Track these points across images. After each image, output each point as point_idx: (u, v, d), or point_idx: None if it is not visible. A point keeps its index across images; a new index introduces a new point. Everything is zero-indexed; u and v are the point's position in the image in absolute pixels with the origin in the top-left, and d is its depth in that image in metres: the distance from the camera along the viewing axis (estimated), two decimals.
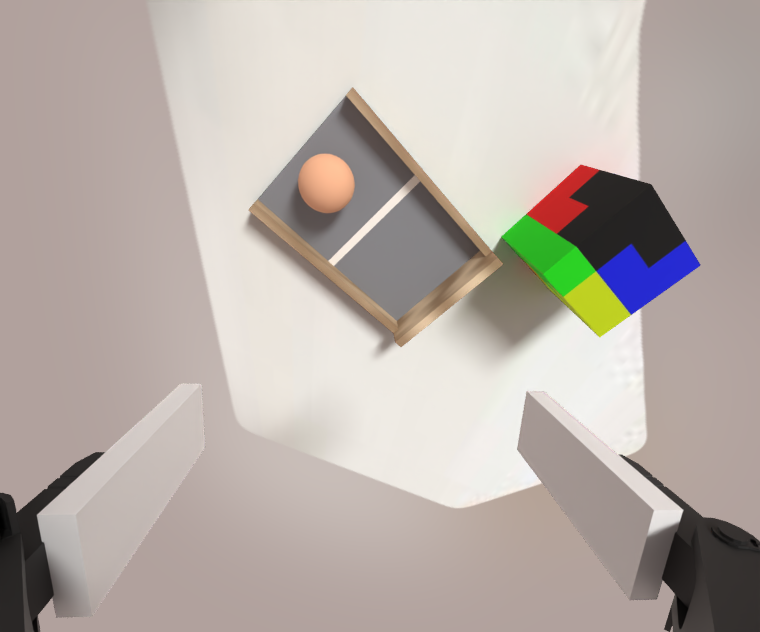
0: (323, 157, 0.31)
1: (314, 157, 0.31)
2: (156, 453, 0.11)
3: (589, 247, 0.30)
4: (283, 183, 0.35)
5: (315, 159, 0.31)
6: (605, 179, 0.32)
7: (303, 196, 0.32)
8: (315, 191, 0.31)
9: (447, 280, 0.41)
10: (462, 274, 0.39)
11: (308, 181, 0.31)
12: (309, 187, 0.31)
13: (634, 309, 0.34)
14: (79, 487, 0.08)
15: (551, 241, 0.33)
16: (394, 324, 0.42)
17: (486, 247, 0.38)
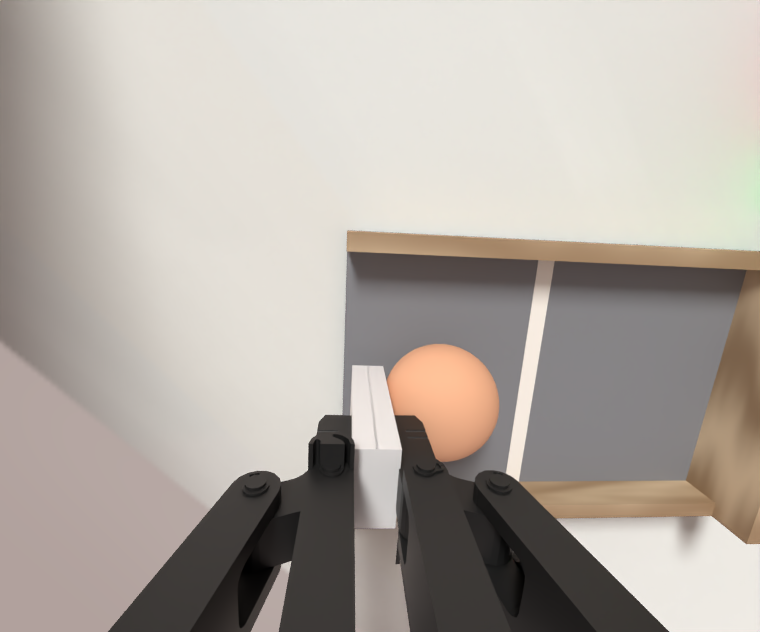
0: (416, 380, 0.14)
1: (400, 391, 0.14)
2: None
3: None
4: None
5: (407, 395, 0.14)
6: None
7: None
8: (458, 447, 0.14)
9: (729, 359, 0.19)
10: None
11: (432, 443, 0.14)
12: (442, 449, 0.14)
13: None
14: (360, 433, 0.11)
15: None
16: (701, 501, 0.20)
17: None
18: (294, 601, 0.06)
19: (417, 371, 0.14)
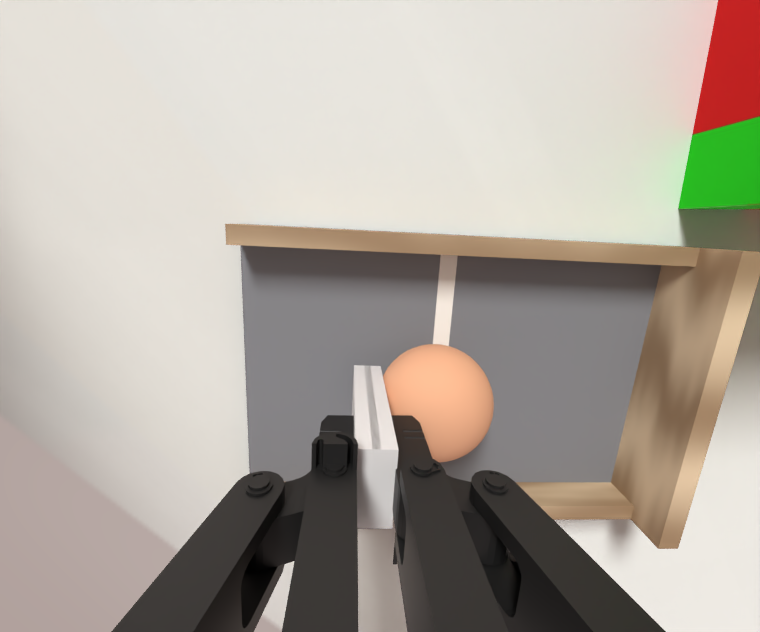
0: (479, 382, 0.14)
1: (478, 402, 0.14)
2: None
3: None
4: (264, 432, 0.19)
5: (484, 399, 0.14)
6: None
7: None
8: None
9: (647, 357, 0.18)
10: (674, 331, 0.17)
11: None
12: None
13: None
14: (363, 433, 0.11)
15: None
16: (619, 504, 0.19)
17: (683, 250, 0.16)
18: (297, 601, 0.06)
19: (473, 375, 0.14)
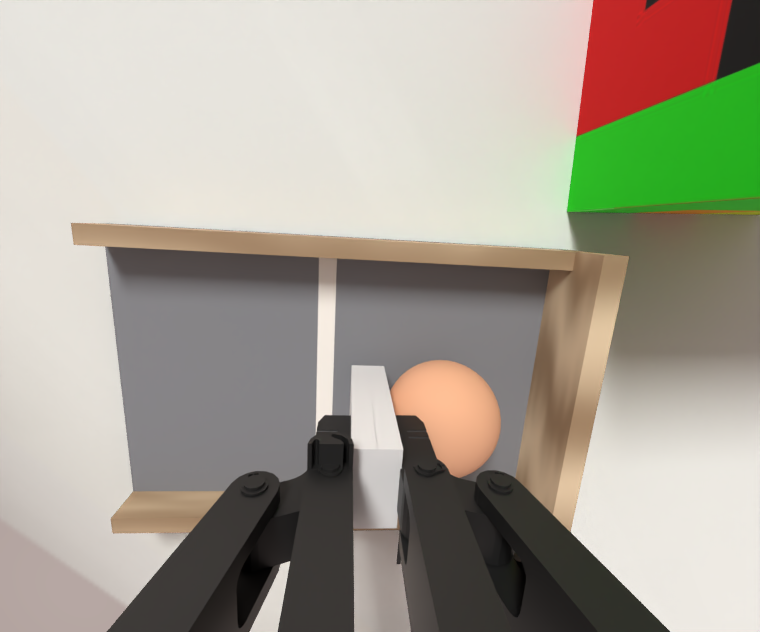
0: None
1: None
2: None
3: None
4: (145, 440, 0.18)
5: None
6: None
7: None
8: None
9: (539, 363, 0.18)
10: (557, 337, 0.17)
11: None
12: None
13: None
14: (359, 433, 0.11)
15: (721, 107, 0.10)
16: None
17: (558, 254, 0.15)
18: (293, 601, 0.06)
19: None
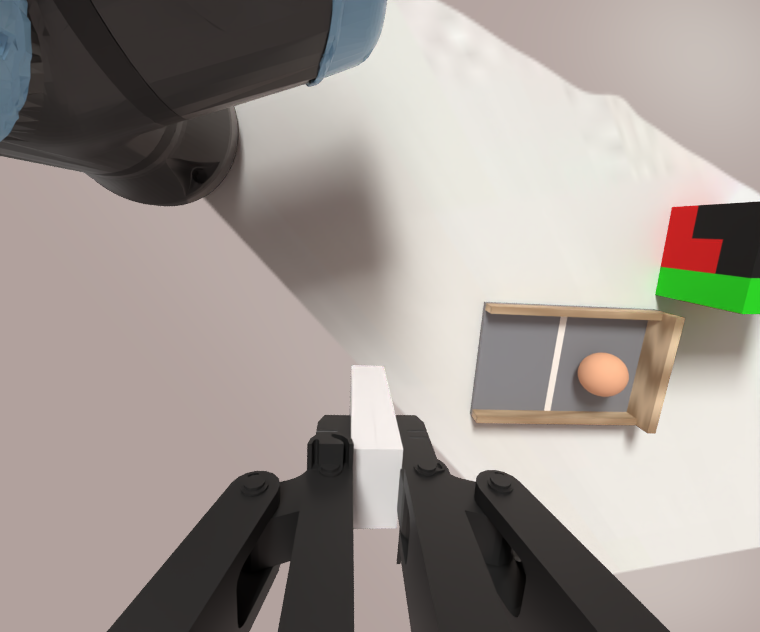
0: None
1: None
2: None
3: None
4: (481, 387, 0.44)
5: None
6: (713, 211, 0.36)
7: None
8: None
9: (642, 355, 0.44)
10: (653, 345, 0.42)
11: None
12: None
13: None
14: (359, 433, 0.11)
15: (716, 282, 0.36)
16: (630, 418, 0.44)
17: (656, 314, 0.41)
18: (293, 601, 0.06)
19: None
